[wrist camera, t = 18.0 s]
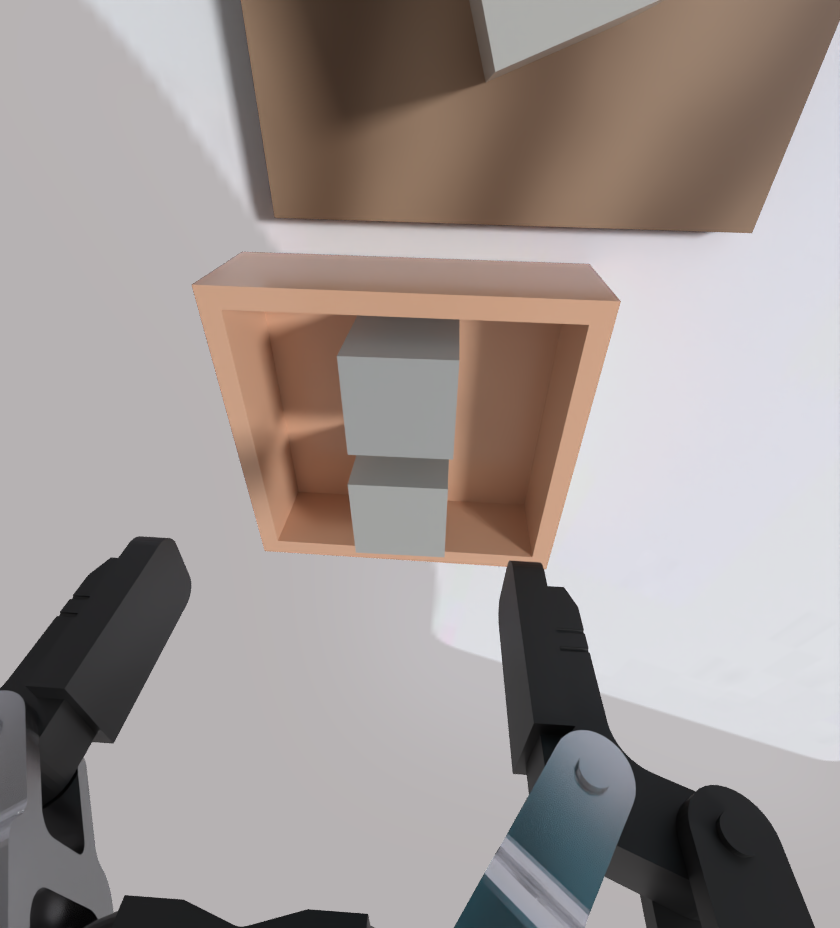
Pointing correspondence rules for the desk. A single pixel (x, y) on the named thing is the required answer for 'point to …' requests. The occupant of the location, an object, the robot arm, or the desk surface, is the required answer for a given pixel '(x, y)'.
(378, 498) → the stone
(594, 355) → the bin
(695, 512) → the desk surface
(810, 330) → the desk surface
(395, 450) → the stone
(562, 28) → the pale grey cube
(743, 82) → the lid board
